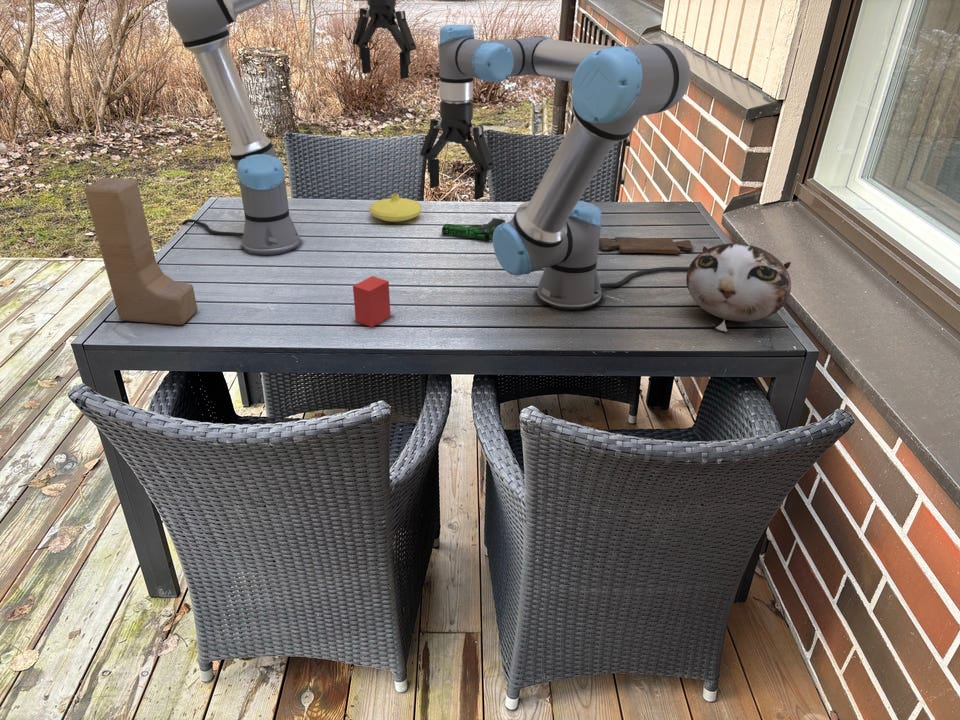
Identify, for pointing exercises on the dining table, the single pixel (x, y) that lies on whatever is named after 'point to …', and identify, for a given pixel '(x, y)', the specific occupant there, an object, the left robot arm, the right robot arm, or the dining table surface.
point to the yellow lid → (395, 209)
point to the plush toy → (738, 282)
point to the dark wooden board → (645, 245)
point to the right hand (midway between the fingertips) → (456, 192)
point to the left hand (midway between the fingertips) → (385, 75)
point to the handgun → (473, 230)
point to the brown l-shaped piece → (134, 257)
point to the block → (371, 301)
